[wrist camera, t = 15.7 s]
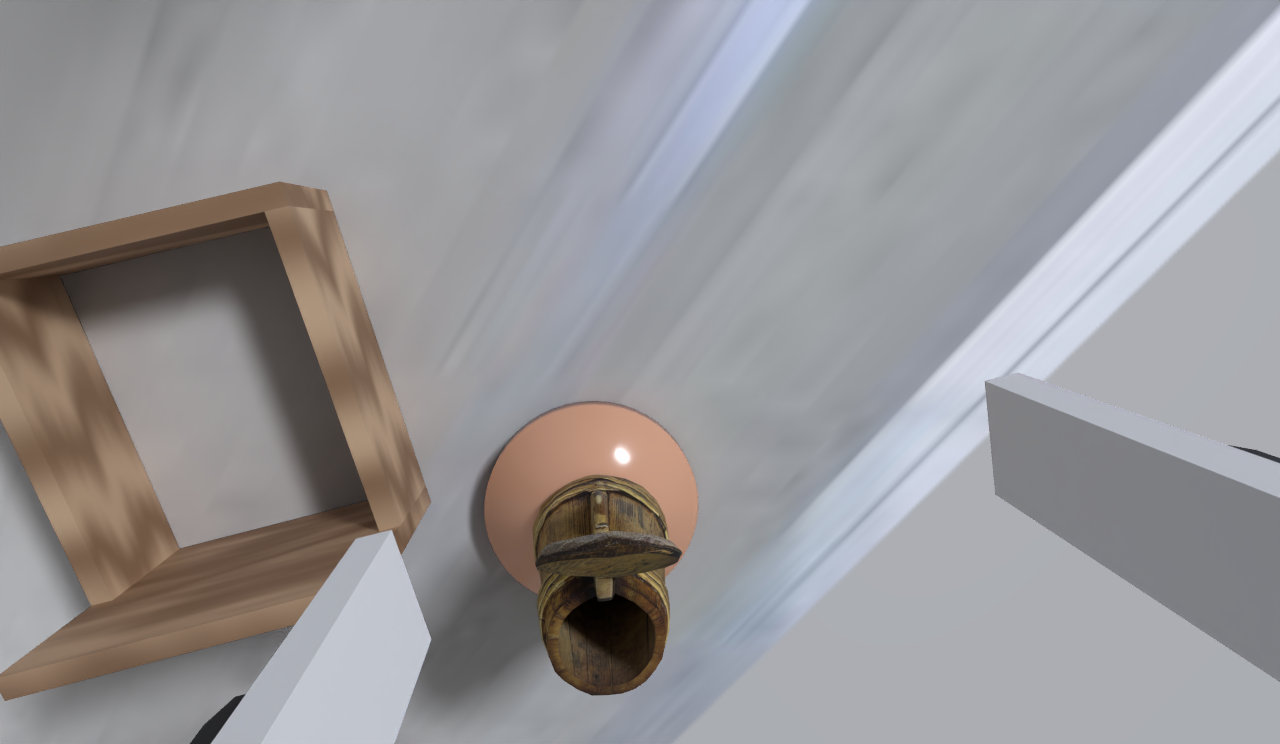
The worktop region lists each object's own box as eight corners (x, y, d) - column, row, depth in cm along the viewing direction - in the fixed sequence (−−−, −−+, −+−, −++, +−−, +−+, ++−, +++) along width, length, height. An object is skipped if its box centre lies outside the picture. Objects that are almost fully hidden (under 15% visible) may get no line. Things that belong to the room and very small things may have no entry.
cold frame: (29, 260, 37) (-229, 270, 25) (326, 190, 37) (211, 168, 26) (168, 569, 41) (4, 700, 29) (430, 502, 42) (373, 604, 30)
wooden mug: (669, 405, 40) (738, 531, 23) (667, 596, 43) (727, 840, 26) (528, 408, 40) (488, 542, 22) (535, 603, 42) (505, 859, 25)
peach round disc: (461, 431, 41) (457, 438, 40) (669, 378, 42) (672, 383, 40) (519, 616, 44) (517, 629, 43) (712, 565, 45) (717, 576, 43)
